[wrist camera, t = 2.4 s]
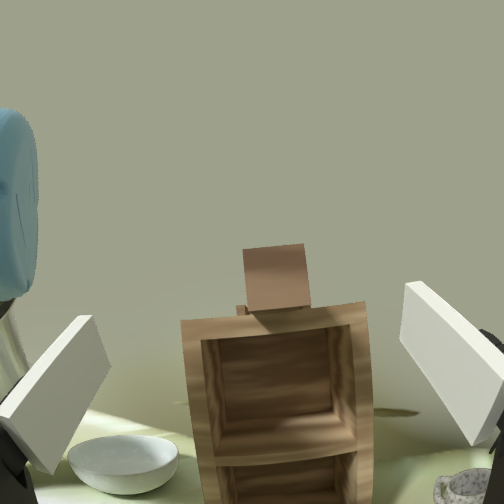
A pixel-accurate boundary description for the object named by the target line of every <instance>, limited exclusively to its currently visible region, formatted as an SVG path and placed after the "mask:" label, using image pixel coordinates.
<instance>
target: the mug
mask: <svg viewBox="0 0 504 504" xmlns="http://www.w3.org/2000/svg"><path fill="white" fill-rule="evenodd" d="M490 474H491V469H487V468H474V469H469V470H465V471H462V472H460V473H458V474H456V475H454V476H439V477H438V478H437V480H436V483H435V486H434V493H433V498H434V501H435V503H436V504H482V503H483V500H484V497H485V493H486V490H487V486H488V482H489V478H490ZM443 484H444V485H445V486H446V487H447V488H446V494H445V499H444V498H443V497H442V493H441V491H442V485H443Z"/></svg>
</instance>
